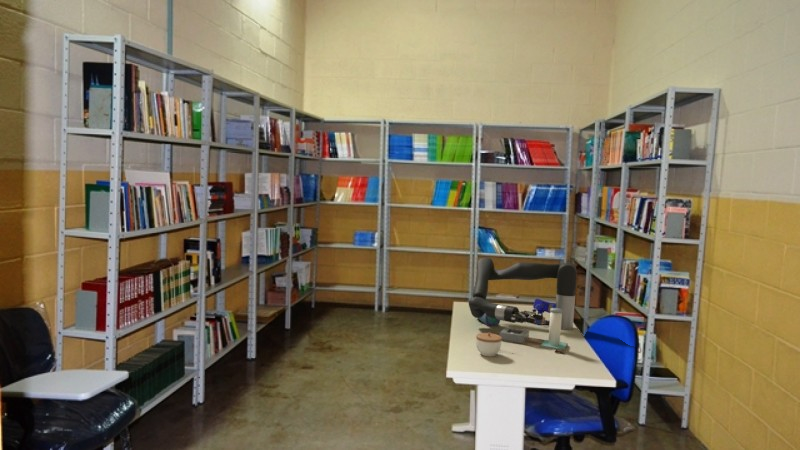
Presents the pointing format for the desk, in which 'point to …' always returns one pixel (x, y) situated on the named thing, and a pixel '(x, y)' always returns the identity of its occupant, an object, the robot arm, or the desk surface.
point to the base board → (538, 344)
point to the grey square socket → (514, 335)
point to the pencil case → (489, 320)
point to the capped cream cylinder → (555, 326)
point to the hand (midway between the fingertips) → (538, 319)
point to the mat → (561, 346)
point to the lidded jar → (488, 343)
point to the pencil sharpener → (542, 310)
